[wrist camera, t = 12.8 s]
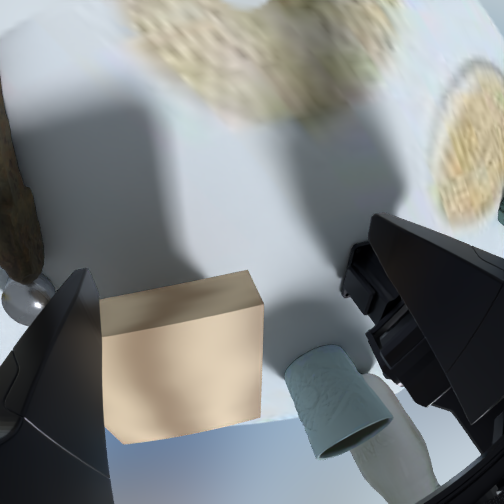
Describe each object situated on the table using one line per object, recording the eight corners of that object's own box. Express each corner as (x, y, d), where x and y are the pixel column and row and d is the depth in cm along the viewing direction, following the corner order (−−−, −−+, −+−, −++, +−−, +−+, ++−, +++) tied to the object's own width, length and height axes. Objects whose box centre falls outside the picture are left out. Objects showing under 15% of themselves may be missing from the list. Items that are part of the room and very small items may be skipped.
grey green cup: (275, 360, 35) (316, 450, 26) (352, 328, 36) (403, 406, 27) (283, 394, 42) (316, 466, 33) (347, 366, 43) (385, 432, 34)
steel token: (27, 257, 19) (20, 274, 17) (66, 292, 22) (63, 311, 20) (-1, 285, 19) (-8, 302, 17) (35, 316, 22) (32, 333, 20)
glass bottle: (353, 394, 52) (421, 515, 30) (311, 401, 47) (382, 543, 26) (386, 360, 47) (468, 491, 26) (345, 365, 42) (435, 523, 21)
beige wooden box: (217, 205, 21) (263, 304, 14) (228, 329, 29) (260, 417, 22) (63, 236, 19) (36, 347, 12) (115, 351, 27) (123, 444, 19)
